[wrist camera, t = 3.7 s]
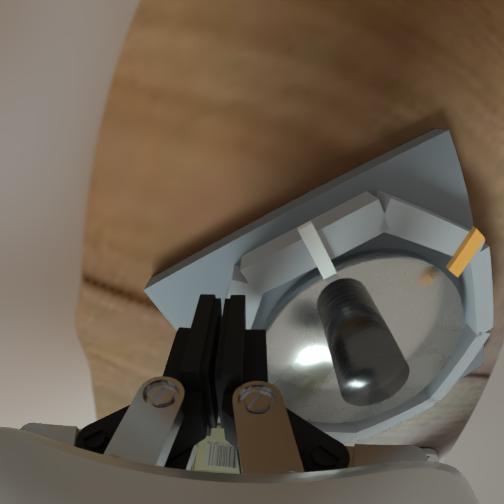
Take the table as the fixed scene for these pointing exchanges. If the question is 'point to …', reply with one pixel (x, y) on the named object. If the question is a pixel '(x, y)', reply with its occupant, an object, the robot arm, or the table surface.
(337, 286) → the dial
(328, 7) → the table surface
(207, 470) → the coffee can
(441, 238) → the panel
